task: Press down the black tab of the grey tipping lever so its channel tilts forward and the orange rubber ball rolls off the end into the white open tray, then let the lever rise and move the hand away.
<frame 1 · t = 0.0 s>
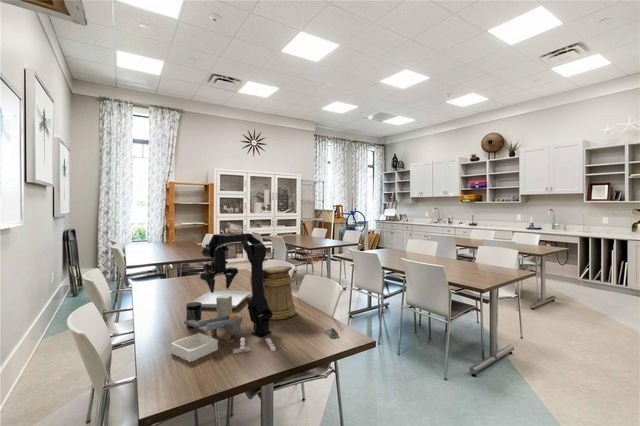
hand: (219, 290, 156), 15 cm above the table, tool pointing down, fingers open, 9 cm apart
pivot stand: (220, 340, 133), on the table
game pieces: (287, 342, 133), on the table
supplement container: (194, 326, 149), on the table
ball: (233, 317, 139), point 8 cm above the table, tilted 14°, touching tipping lever
walkman: (262, 296, 198), on the table
square plate: (222, 303, 184), on the table
tipping lever: (213, 323, 135), point 6 cm above the table, hinge at -8.0°, touching ball
skincare box: (224, 321, 155), on the table
tankard: (273, 315, 165), on the table
white open tray: (194, 351, 123), on the table
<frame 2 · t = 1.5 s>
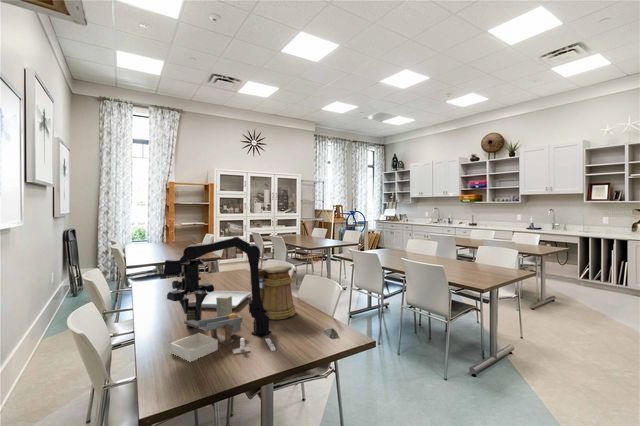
hand: (191, 312, 133), 12 cm above the table, tool pointing down, fingers open, 5 cm apart
nothing on the table moved.
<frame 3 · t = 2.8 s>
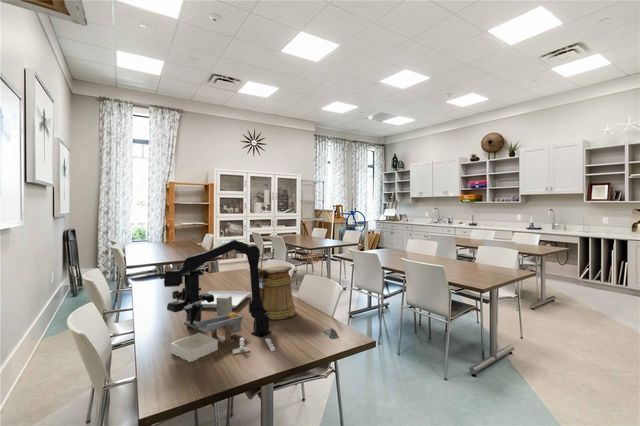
hand: (191, 322, 133), 8 cm above the table, tool pointing down, fingers closed, pressing on tipping lever
tipping lever: (213, 323, 136), point 6 cm above the table, hinge at -5.2°, touching ball, gripper
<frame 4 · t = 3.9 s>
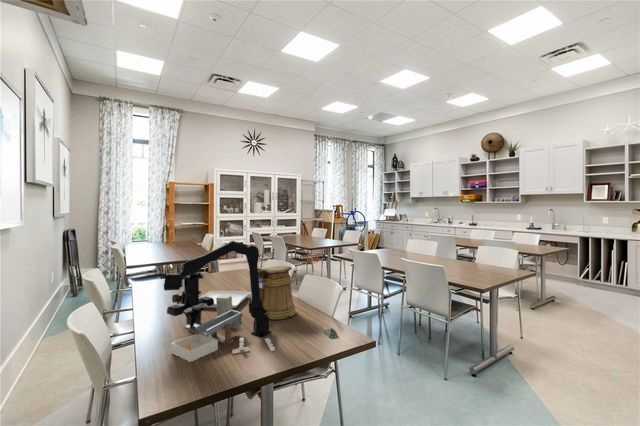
hand: (191, 325, 133), 6 cm above the table, tool pointing down, fingers closed
ball: (186, 349, 120), point 2 cm above the table, tilted 18°, touching white open tray
tipping lever: (214, 323, 136), point 6 cm above the table, hinge at 6.7°, touching gripper
everything else where it was.
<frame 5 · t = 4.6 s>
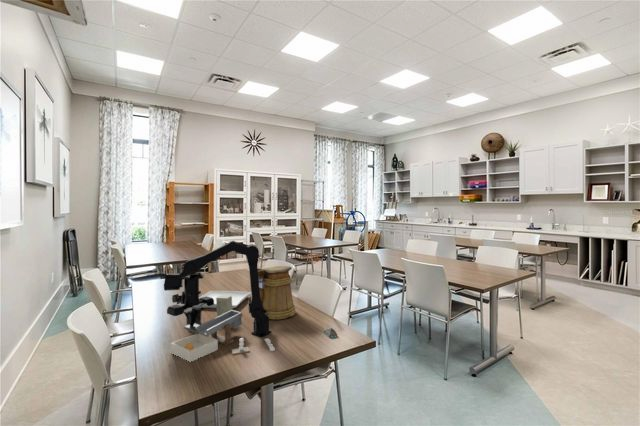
hand: (191, 325, 133), 6 cm above the table, tool pointing down, fingers closed
ball: (188, 348, 121), point 2 cm above the table, tilted 20°, touching white open tray
everything else where it was.
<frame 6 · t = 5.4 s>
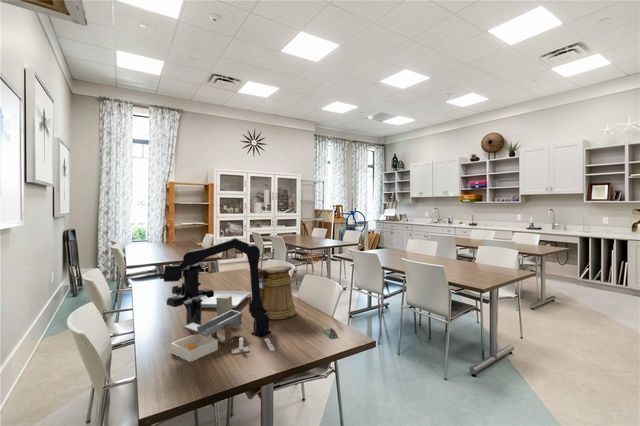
hand: (191, 317, 133), 10 cm above the table, tool pointing down, fingers closed
ball: (191, 347, 122), point 2 cm above the table, tilted 16°, touching white open tray
tipping lever: (214, 323, 136), point 6 cm above the table, hinge at 6.7°
everything else where it was.
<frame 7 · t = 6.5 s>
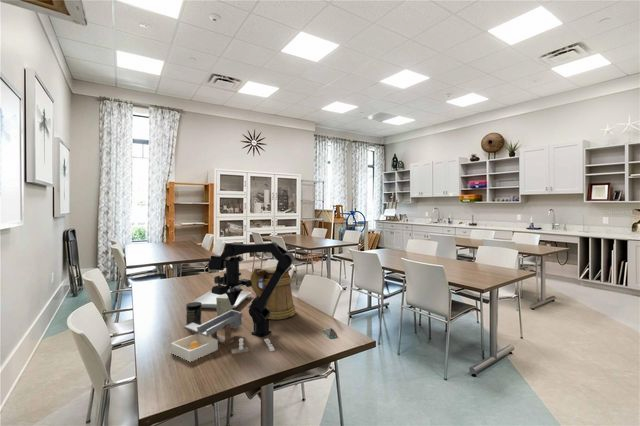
hand: (232, 305, 142), 12 cm above the table, tool pointing down, fingers closed
ball: (194, 345, 123), point 2 cm above the table, tilted 67°, touching white open tray
everything else where it was.
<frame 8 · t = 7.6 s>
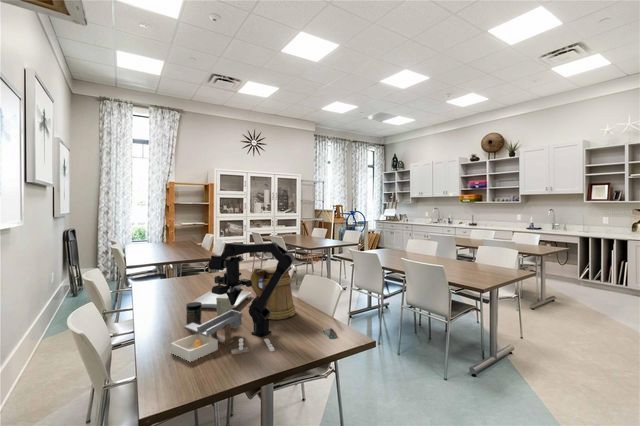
hand: (232, 305, 142), 12 cm above the table, tool pointing down, fingers closed
ball: (198, 344, 124), point 2 cm above the table, tilted 117°, touching white open tray
everything else where it was.
at the end: ball inside the target area on the white open tray (1.8 cm from its centre), point 2.2 cm above the white open tray's base; ball moved 17.9 cm from its start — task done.
